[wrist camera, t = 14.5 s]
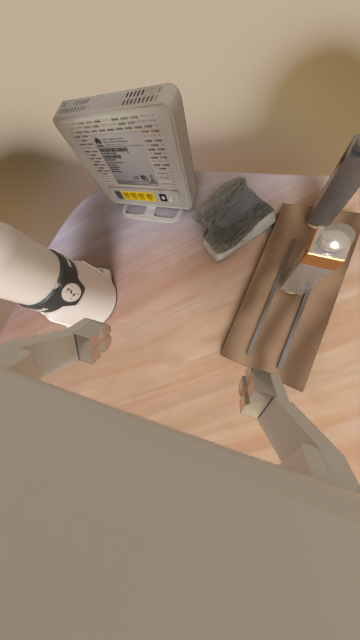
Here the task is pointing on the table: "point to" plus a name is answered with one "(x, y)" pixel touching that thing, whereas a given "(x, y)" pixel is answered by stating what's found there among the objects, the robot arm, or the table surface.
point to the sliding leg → (319, 257)
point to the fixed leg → (338, 187)
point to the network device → (134, 147)
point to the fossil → (233, 218)
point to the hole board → (286, 304)
